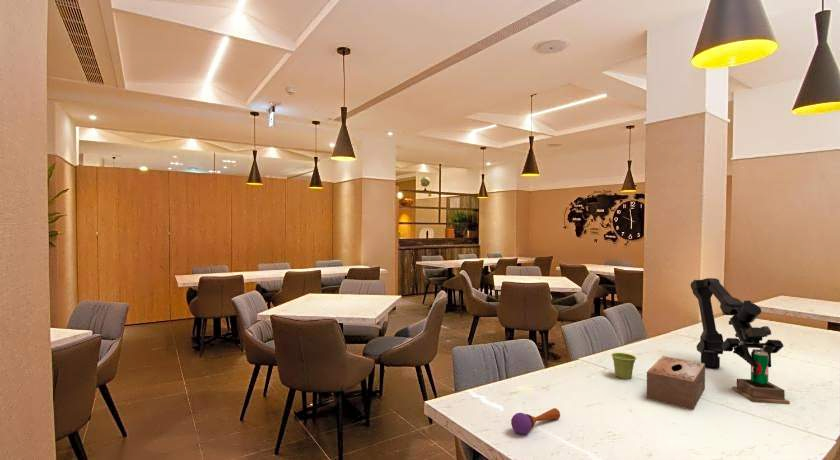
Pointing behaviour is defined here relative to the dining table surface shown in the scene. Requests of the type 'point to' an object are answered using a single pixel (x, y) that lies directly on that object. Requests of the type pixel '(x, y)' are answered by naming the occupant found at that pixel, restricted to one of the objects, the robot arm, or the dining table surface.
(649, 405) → the dining table surface
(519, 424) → the kendama
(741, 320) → the robot arm
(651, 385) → the tissue box cover
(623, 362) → the plant pot
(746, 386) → the socket block
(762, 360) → the soda can
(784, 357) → the dining table surface
